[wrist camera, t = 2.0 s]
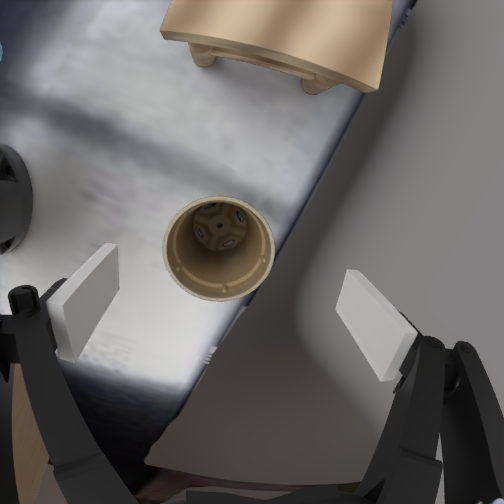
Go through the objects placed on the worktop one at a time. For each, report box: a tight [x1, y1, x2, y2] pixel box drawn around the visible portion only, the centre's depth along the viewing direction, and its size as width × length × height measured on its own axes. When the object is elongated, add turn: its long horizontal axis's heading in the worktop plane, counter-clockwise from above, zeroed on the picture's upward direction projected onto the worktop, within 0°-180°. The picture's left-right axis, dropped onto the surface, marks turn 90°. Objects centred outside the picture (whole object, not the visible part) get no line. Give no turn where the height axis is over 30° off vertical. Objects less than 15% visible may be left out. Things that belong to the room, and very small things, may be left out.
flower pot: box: [163, 196, 275, 302], centre depth 28 cm, size 9×9×9 cm
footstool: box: [160, 0, 393, 95], centre depth 19 cm, size 16×16×12 cm
